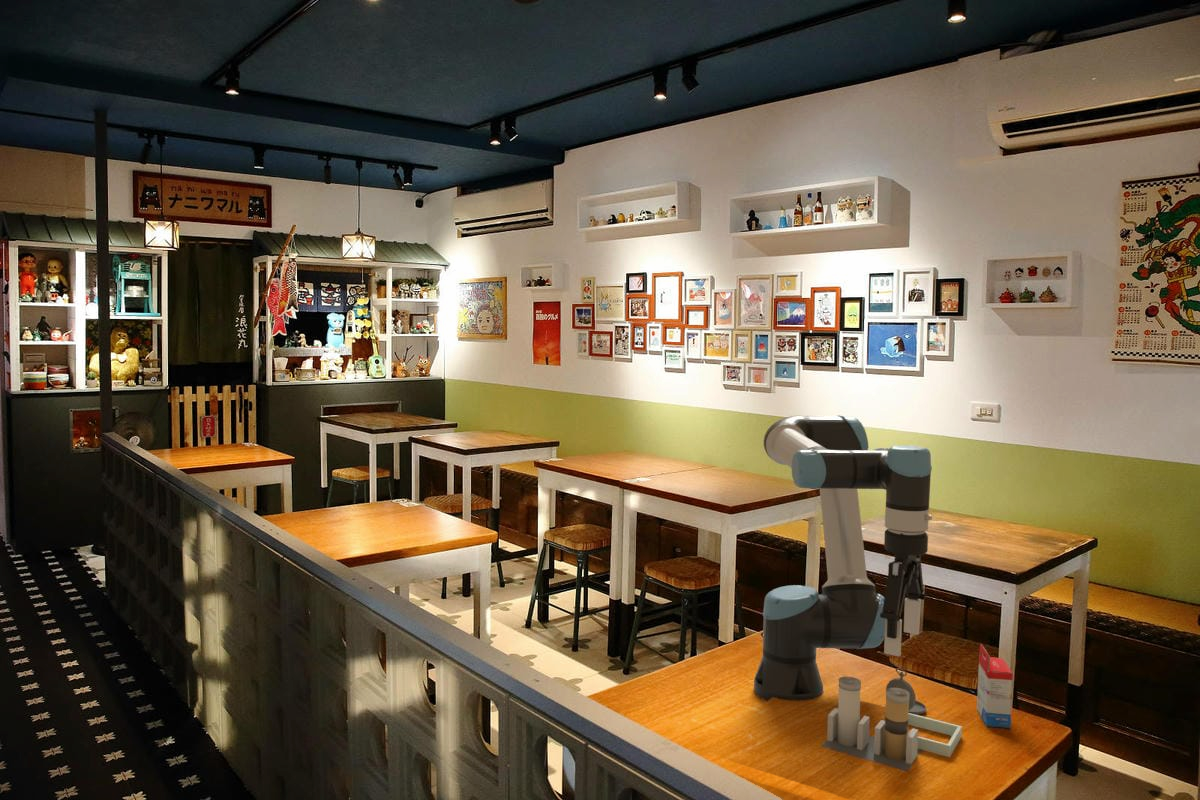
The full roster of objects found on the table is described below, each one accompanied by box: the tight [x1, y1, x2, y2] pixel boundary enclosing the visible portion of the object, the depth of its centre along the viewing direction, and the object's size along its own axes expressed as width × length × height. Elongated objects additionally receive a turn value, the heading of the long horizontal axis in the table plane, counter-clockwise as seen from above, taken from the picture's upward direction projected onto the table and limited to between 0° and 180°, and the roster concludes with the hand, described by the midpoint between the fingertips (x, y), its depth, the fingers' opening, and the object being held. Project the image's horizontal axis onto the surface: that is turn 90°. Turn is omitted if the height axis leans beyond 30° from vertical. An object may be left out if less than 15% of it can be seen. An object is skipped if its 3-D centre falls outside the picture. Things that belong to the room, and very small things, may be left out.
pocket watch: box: [885, 667, 927, 715], centre depth 179 cm, size 8×8×10 cm
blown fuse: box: [884, 688, 909, 760], centre depth 157 cm, size 4×4×12 cm
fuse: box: [837, 676, 862, 746], centre depth 162 cm, size 4×4×12 cm
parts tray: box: [908, 713, 963, 758], centre depth 164 cm, size 12×10×4 cm
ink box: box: [976, 643, 1014, 729], centre depth 176 cm, size 8×5×15 cm, turn 168°
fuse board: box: [821, 707, 923, 772], centre depth 160 cm, size 16×10×6 cm, turn 55°
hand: (902, 643), depth 156 cm, fingers open, 13 cm apart
